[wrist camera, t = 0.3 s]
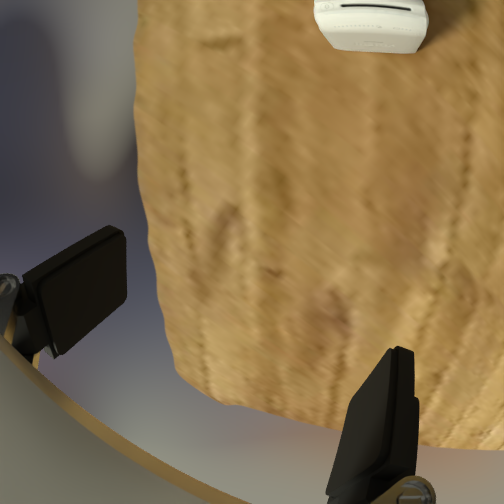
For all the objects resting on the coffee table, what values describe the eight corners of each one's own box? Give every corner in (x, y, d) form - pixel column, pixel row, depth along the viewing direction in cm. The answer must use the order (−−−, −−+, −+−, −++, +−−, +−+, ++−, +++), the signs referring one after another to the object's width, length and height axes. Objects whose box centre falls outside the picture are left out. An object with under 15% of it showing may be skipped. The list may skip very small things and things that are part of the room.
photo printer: (330, 52, 30) (308, 28, 20) (327, 20, 28) (304, -16, 18) (418, 58, 27) (438, 34, 16) (415, 24, 25) (431, -12, 14)
